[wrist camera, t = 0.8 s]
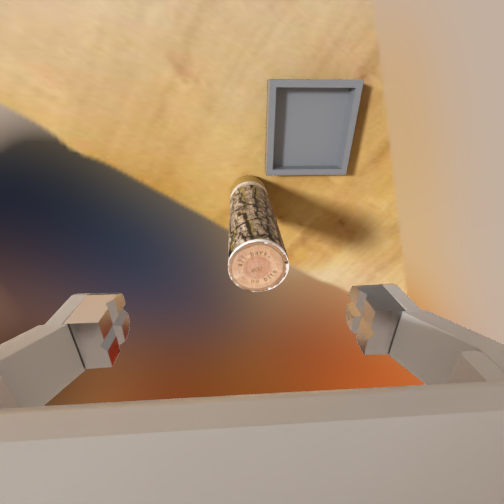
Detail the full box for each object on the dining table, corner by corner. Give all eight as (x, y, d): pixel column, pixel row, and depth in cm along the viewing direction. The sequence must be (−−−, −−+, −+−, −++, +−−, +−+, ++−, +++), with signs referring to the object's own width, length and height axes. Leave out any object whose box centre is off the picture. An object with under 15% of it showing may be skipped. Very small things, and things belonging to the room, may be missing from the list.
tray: (267, 79, 42) (269, 79, 39) (356, 80, 42) (363, 79, 40) (264, 170, 49) (266, 175, 46) (340, 170, 50) (346, 174, 47)
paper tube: (226, 179, 49) (219, 249, 28) (262, 170, 49) (283, 234, 28) (235, 212, 53) (236, 297, 32) (269, 204, 52) (293, 284, 31)
